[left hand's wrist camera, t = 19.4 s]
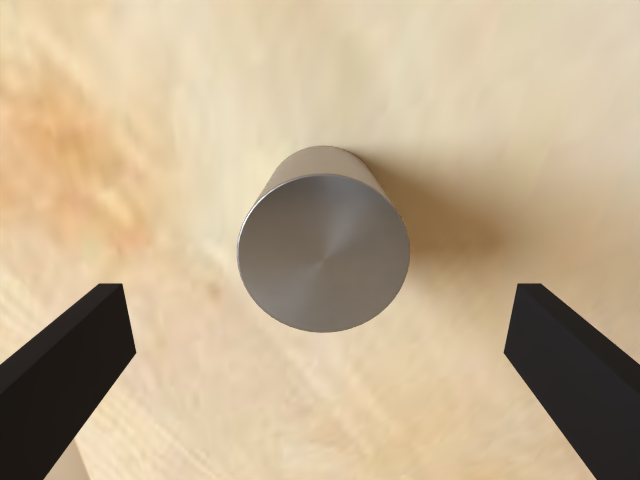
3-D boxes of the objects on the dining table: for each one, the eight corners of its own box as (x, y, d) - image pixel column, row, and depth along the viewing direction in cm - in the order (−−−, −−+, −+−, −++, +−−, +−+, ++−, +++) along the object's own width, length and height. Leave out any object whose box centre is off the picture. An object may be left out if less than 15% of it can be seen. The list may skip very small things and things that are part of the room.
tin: (245, 221, 26) (207, 284, 17) (302, 122, 24) (292, 136, 15) (339, 274, 28) (348, 358, 19) (402, 185, 25) (446, 233, 16)
